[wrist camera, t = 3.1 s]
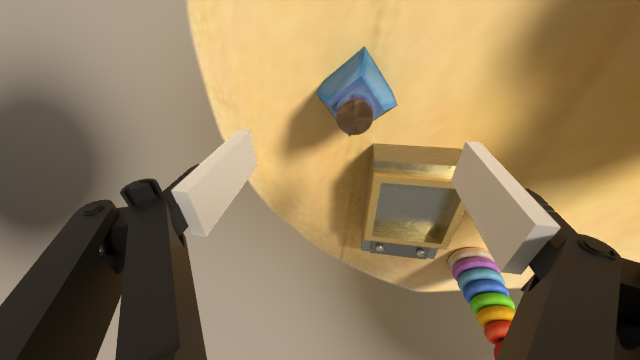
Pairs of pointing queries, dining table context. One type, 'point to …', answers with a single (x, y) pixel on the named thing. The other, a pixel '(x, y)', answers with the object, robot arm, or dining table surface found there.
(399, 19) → the dining table surface
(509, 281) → the dining table surface
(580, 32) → the dining table surface
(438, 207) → the gray gold-framed box
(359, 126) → the perfume bottle
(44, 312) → the robot arm
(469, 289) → the stacking toy
